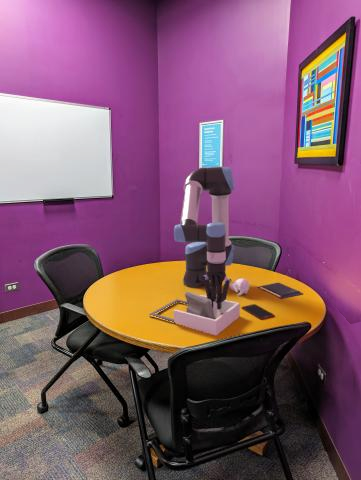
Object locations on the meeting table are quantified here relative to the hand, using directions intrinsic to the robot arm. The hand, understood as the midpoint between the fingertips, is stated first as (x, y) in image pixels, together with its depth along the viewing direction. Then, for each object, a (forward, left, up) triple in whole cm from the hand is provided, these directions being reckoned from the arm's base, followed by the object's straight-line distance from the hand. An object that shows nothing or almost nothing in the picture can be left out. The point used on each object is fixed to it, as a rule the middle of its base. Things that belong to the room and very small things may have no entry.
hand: (216, 315), depth 143 cm
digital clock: (-8, 0, -3) cm, 9 cm away
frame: (-22, 0, -3) cm, 22 cm away
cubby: (-6, 0, -3) cm, 6 cm away
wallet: (+9, +51, -4) cm, 52 cm away
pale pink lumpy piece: (-8, +37, -3) cm, 38 cm away
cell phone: (+10, +19, -4) cm, 22 cm away
